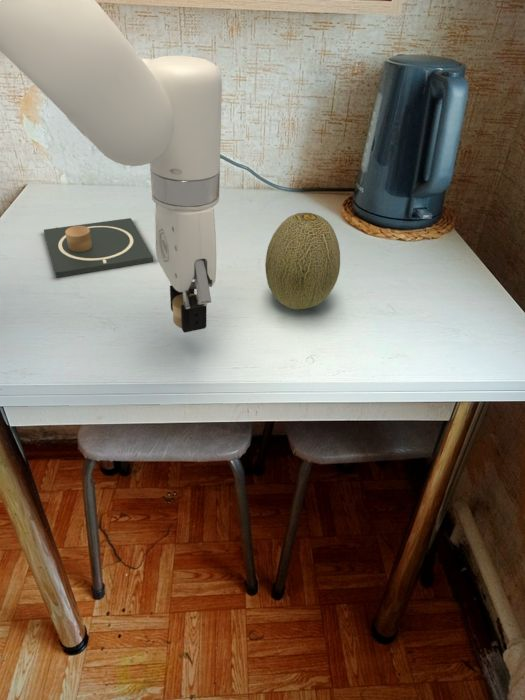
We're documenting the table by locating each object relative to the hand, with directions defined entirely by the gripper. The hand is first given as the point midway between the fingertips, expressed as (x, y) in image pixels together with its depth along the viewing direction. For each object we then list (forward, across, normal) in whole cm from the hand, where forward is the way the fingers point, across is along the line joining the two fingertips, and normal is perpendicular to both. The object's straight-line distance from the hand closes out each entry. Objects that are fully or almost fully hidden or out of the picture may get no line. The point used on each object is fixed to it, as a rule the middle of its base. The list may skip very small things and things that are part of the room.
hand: (188, 318), depth 68 cm
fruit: (+5, -5, +20) cm, 21 cm away
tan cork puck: (+4, -32, -9) cm, 33 cm away
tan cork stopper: (0, 0, 0) cm, 0 cm away
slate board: (+5, -33, -6) cm, 34 cm away
